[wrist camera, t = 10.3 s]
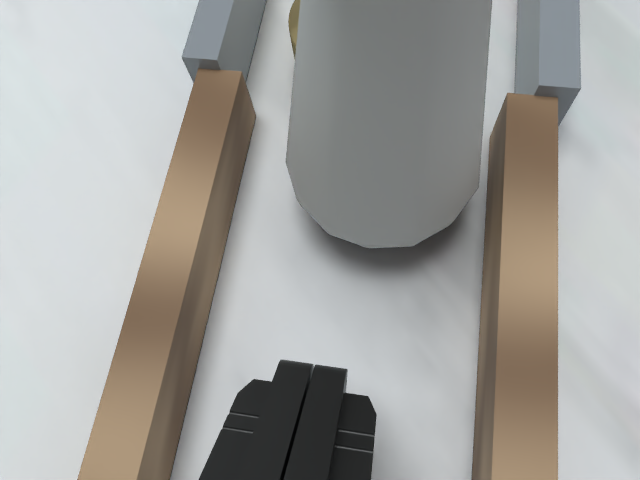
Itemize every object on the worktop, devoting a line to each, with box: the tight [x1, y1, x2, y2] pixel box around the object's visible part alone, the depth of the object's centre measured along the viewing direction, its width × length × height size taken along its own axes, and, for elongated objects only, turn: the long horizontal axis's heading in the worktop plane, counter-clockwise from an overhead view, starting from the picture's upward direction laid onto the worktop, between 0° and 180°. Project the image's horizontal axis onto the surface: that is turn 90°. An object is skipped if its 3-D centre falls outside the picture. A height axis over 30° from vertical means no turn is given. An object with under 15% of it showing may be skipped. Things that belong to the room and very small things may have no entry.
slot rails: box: [77, 68, 558, 480], centre depth 15 cm, size 18×12×2 cm, turn 171°
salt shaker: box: [286, 0, 492, 248], centre depth 12 cm, size 6×6×13 cm
